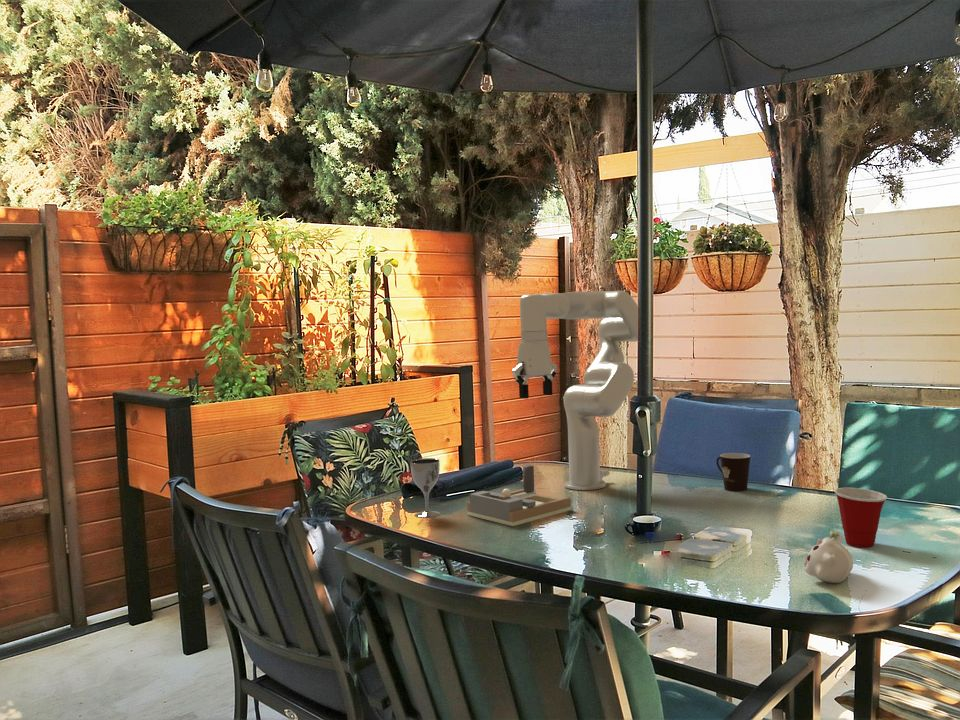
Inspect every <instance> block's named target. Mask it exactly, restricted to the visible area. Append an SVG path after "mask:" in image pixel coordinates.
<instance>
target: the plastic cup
mask: <svg viewBox="0 0 960 720" xmlns="http://www.w3.org/2000/svg"><path fill="white" fill-rule="evenodd" d="M834 494H835V495H836V500H837V505H838V507H839V514H840V520H841V525H842V529H843V535H844V540H845V542H846V545H847V546H850V547H854V548H855V547H856V548H866V549H867V548H872V547H874V546H875V543H876V539H877V538H876V537H877V532H878V528H879V524H880V519H881V514H882V509H883V506H884V504H885V503H886V502H885V501H886V500H887V499H888V496H887V495H886V494H884V493H882V492H879V491H877V490H876V491H875V490H872V489H868V488H858V487H838V488H836V489H834Z"/></svg>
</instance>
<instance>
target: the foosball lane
mask: <svg viewBox="0 0 960 720" xmlns="http://www.w3.org/2000/svg"><path fill="white" fill-rule="evenodd" d="M490 492H491V491H485V490H481V491H476V492H473V493H472V492H471V493H469V501H467V502H466V506H467V507H466V509H467V516H469V517H474V518H477V519H478V518H479V519H483V520H487V521H491V522H493V523H494V522H495V523H498V524H502V525H506V526H510V527H515V526H518V525H522V524H526V523H529V522H533V521H537V520H540V519H544V518H547V517H550V516H554V515H558V514H562V513H565V512H569V511H571V509H572V506H571V504H572V503H571V497H569V496H566V497H565V496H564V497H561V498H558V497H557V498H556V497H551V496H546V495H542V494H537V493H536V495H535V496H532V497H528V498H524V499H528V500H532V501H536V506H532V507H525V506H523V499H520V498H511V499H507V500H501V499H496V498H492V497H490ZM519 493H524V488H522V489H517V490H512V491H511V495H515V494H519ZM511 495H510V496H511Z"/></svg>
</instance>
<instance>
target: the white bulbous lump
mask: <svg viewBox="0 0 960 720" xmlns="http://www.w3.org/2000/svg"><path fill="white" fill-rule="evenodd" d="M829 536H830V537H829ZM829 536H827V537H824V538H823V539H822V538H819V539H818V540H817V542H816V544H815V545H813V547H811V549H810V550H809V552H808V554H807V557H806V559H805V560H804V571H805V573H806V574H807V575H810V576H811V577H815V578H816V579H818V580H819V581H823V582H825V583H831V584H839V583H841V582H843V581H845V580H846V579H847V578H848V576H850V574H851V571H852V569H853V568H854V558H853V556H852V554H851V553H850V551H849V550H848V549H847V547H846V546H844V545H842V541H843V536H842V534H840V533H839V532H838V531H833V530H831V531H830V532H829Z"/></svg>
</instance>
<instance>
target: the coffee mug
mask: <svg viewBox="0 0 960 720" xmlns="http://www.w3.org/2000/svg"><path fill="white" fill-rule="evenodd" d="M719 462H720V464H719ZM750 464H751V454H747V453H740V452H728V453H727V452H726V453H722V454H720V455H719V456H718V457H717V458H716V466H717V468H718V470H719V471H720V472H721V474H722V480H723V487H724V490H725V491H728V492H736V493H737V492H746V491H747V490H748V484H749V483H748V482H749V473H750Z"/></svg>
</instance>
